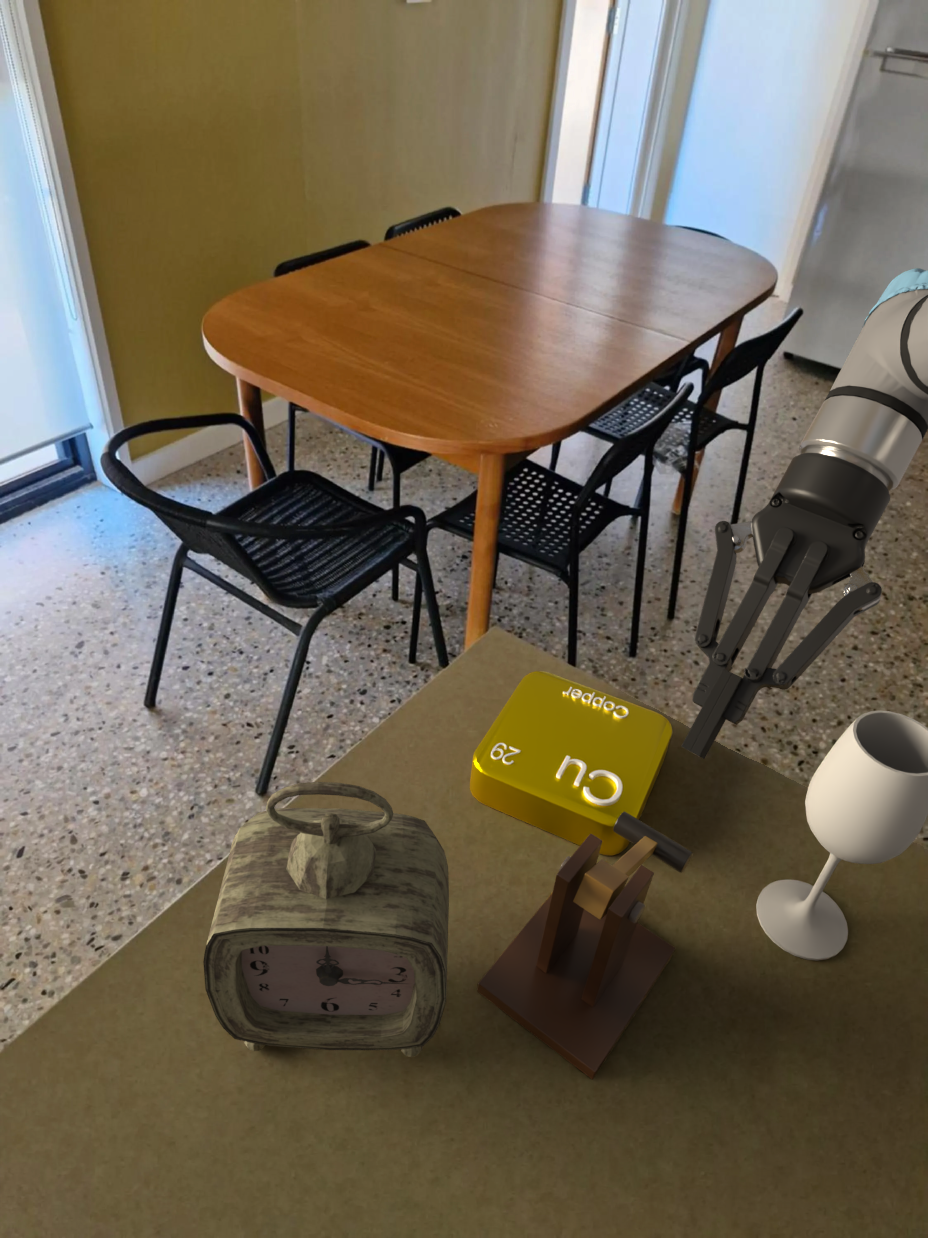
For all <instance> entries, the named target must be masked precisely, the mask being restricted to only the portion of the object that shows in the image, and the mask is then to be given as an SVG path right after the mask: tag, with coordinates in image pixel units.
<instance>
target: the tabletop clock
mask: <svg viewBox="0 0 928 1238" xmlns="http://www.w3.org/2000/svg"><path fill="white" fill-rule="evenodd" d="M310 795H311V796H312V795H317V796H318V795H321V796H322V795H323V796H339V797H347V798H353V799H354V798H355V799H356V798H357V799H359V800H363V801H366V802H368V803H371V804H373V805H375V806H376V807H378V808H380V810H382V811H374V810H364V809H351V808H324V807H323V808H321V807H320V808H319V807H280V808H275V807H276V805H277V804H279V802H281V801H283V800H285V799H288V798H292V797H293V798H294V797H298V796H310ZM225 865H226V866H225V870H224V874H223V878H222V882H221V885H220V889H219V894H218V897H217V902H216V906H215V910H214V914H213V917H212V920H211V925H210V929H209V932H208V937H207V941H206V945H205V949H204V953H203V974H204V988H205V992H206V994H207V996H208V1000H209V1002H210V1005H211V1008H212V1011H213V1013H214V1016H215V1017H216V1020H217V1021H218V1022H219V1024H220V1025H221V1028H222V1029H223V1030H224V1031H225V1032H227V1033H228V1034H229V1035H230V1036H231V1038H233V1039H234V1040H238V1041H241V1042H243V1043H244V1045H245V1047H247V1049H248V1050H250V1051H253V1052H257V1051H261V1049H263V1048H265V1046H269V1047H270V1046H271V1047H281V1048H293V1049H308V1050H321V1051H401V1053H402V1054H403V1055H404V1056H406V1057H409V1058H413V1057H418V1055H419V1054H420V1053H421V1052H422V1051H423V1048H424V1047H425V1046H426V1044H428V1043H429V1042H430V1041H431V1040H432V1039H433V1038H434V1036H435V1035H436V1033H437V1031H438V1030H439V1027H440V1025H441V1022H442V1018H443V1015H444V1014H443V1013H444V1011H445V1006H446V1004H447V997H448V995H447V994H448V993H447V992H448V952H449V951H448V950H449V949H448V947H449V913H450V912H449V911H450V910H449V908H450V907H449V905H450V904H449V903H450V887H449V865H448V860H447V857H446V852H445V850H444V848H443V846H442V844H441V843H440V841H439V840H438V837H437V835H435V833H434V832H433V830H432V828H431V827H430V826H429V824H428V823H427V821H426V820H425V819H421V818H418V817H415V816H412V815H407V814H405V813H404V814H403V813H395V812H394V810H393V807H392V805H390V803H389V801H388V800H387V799H386V798H384V797H383V796H382V795H380V794H378V793H377V791H374V790H371V789H368V788H366V787H364V786H360V785H356V784H349V783H343V782H334V781H333V782H330V781H310V782H309V781H307V782H299V783H295V784H290V785H288V786H284V787H283V788H280V789H279V790H277V791H276V792H274V793H272V794H271V795H270V797H269V798H268V800H267V801H266V806H265V810H263V811H260V812H258V813H256V814H255V815H254V816H253V817H251V818H250V819H249V820H248V821H246V822H245V823H244V824H243V825H241V826H240V827H239V828H238V831H237V832H236V834H235V835H234V837H233V839H232V843H231V846H230V850H229V853H228V858H227V862H226V864H225Z"/></svg>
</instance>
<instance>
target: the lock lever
mask: <svg viewBox="0 0 928 1238" xmlns="http://www.w3.org/2000/svg"><path fill="white" fill-rule="evenodd" d="M613 831H614V832H615V833H617V834H619V835H620V836H622V837H623V838H625V839H627V840H628V841H630V843H631V844H633V846H631V848H630V849H629V850H627V852H626V853H624V854H623V855H622V856H620V858H619V859H617V860H616V861H615V862H614V863H613V864H611V863H609V862H607V861H605V860H604V859H600V860H599V861H597V863H596V865H594V866H593V867H592V868H591V869H590V870H589V871H587V872H586V873H585V875H584V877H583V880H582V882H581V884H580V886H579V889H578V891H577V893H576V895H575V898H574V900H573V902H574V903H576V904H577V905H579V906H580V907H582V908H583V909H585V910H586V911H588V912H589V913H591V914H592V915H594V916H595V917H597V918H598V919H600V920H601V919H602V918H603V917H604V916H605V915H606V914H607V912H608V909H609V907H610V906H611V905H612V903H613V902H614V901H615V899H616V898H617V897H618V895H619V894H620V893H621V891H622V890H623V889H624V887H625V886H626V885H627V883H628V881H629V878H630V876H632V874H633V873H635V872H636V871H637V870H638V868H639V867H640V866H641V865H643V864H644V863H645V862H646V861H647V860H648V859H649V858H650V857H651V856H653V857H654V858H656V859H657V860H659V861H661V862H662V863H664V864H666V865H667V866H669V867H671V868H672V869H673V870H676V871H677V872H679V873H680V874H682V873H683V872H685V870H686V868H687V867H688V865H689V863H690V862H691V859H692V857H693V854H694V853H693V851H692V850H690V849H688V848H686V847H685V846H684V845H681V844H680V843H679V842H677V841H675V840H673V839H672V838H670V837H668V836H666V835H665V834H663V833H661V832H660V831H658V830H656V829H655V828H653V827H652V826H650V825H648V824H647V823H645V822H643V821H641V820H640V819H639V820H638V819H637V818H635V817H633V816H632V815H630V814H628V813H627V812H623V813H622V814H621V815H620V816H619V817H618V819H617V821H616V823H615V825H614V828H613Z"/></svg>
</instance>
